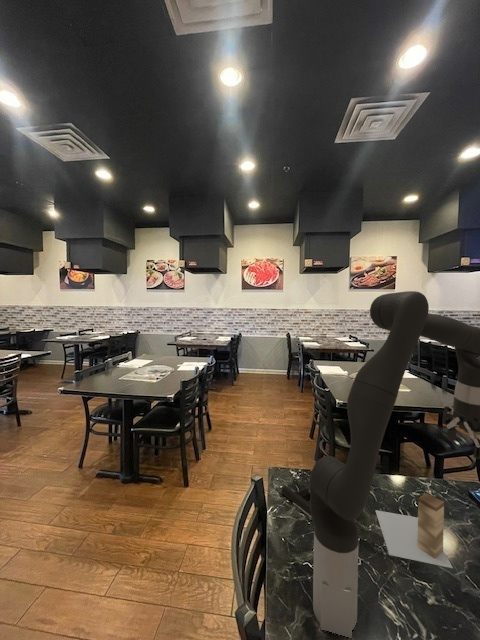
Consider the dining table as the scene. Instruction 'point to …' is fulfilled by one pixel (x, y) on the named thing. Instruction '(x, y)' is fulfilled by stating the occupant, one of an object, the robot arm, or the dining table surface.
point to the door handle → (299, 499)
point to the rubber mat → (405, 538)
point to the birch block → (430, 525)
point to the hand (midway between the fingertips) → (463, 448)
